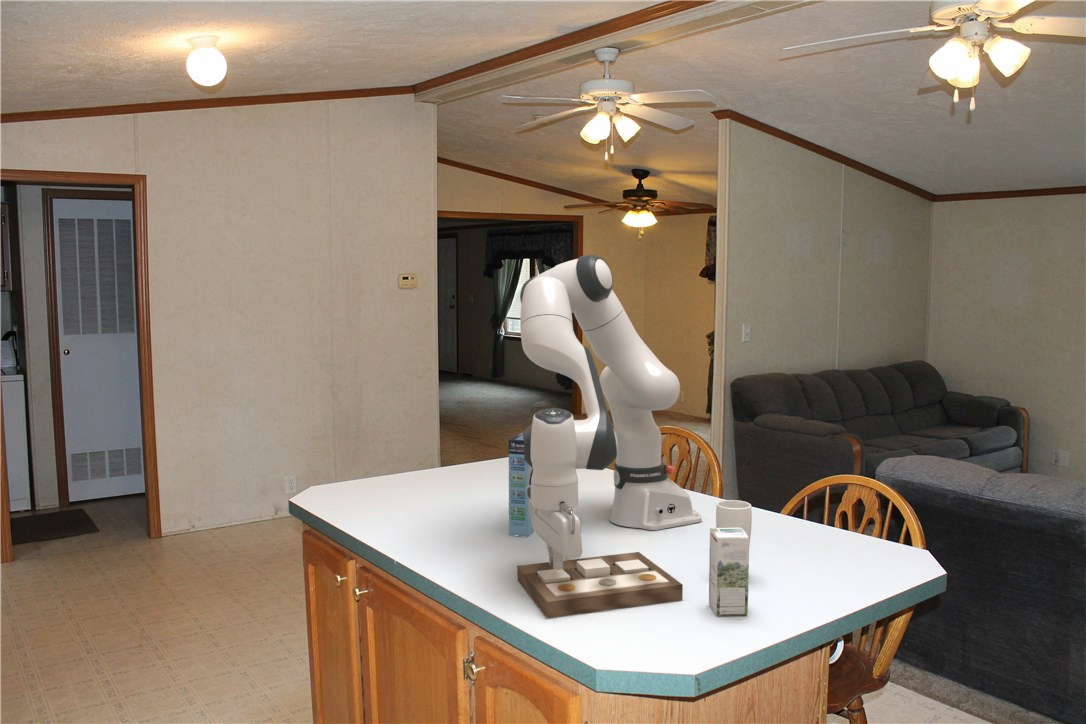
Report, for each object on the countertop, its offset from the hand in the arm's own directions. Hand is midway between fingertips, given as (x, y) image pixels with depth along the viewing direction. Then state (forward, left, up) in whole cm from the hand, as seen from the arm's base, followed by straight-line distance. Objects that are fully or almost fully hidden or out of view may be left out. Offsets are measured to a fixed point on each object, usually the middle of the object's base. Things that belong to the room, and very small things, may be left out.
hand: (556, 567), depth 160 cm
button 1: (+1, 0, -4) cm, 4 cm away
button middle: (-7, 0, -3) cm, 8 cm away
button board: (-7, +2, -5) cm, 9 cm away
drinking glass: (-35, +5, -5) cm, 36 cm away
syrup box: (-26, +19, -5) cm, 33 cm away
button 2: (-15, 0, -4) cm, 16 cm away
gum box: (-8, -44, -5) cm, 45 cm away
